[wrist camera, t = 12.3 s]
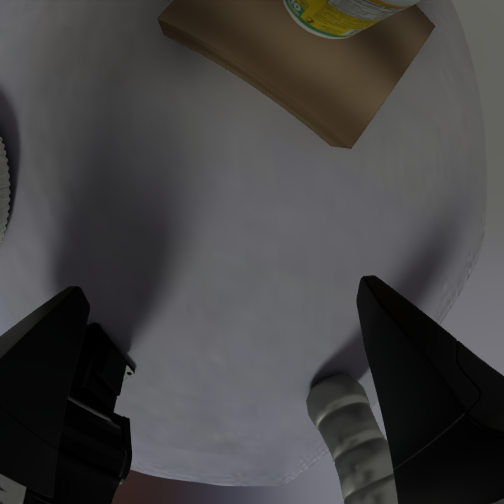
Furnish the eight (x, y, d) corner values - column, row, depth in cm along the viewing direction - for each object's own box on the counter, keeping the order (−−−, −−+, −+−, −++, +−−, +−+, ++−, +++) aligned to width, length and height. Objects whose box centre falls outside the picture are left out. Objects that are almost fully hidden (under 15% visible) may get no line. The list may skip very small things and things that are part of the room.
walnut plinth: (331, 146, 18) (351, 148, 16) (164, 34, 14) (157, 18, 11) (413, 33, 15) (435, 26, 12) (280, -67, 10) (290, -86, 8)
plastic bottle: (326, 361, 27) (411, 534, 8) (366, 372, 29) (446, 510, 11) (289, 399, 28) (345, 560, 10) (331, 407, 30) (390, 540, 12)
